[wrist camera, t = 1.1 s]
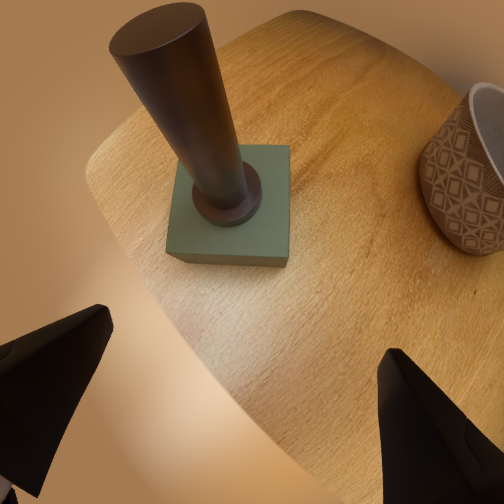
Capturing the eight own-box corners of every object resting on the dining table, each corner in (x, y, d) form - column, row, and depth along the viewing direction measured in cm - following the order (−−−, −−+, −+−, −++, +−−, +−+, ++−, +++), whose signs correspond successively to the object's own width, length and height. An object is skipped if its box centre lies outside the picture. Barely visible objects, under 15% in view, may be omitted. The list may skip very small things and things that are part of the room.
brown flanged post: (243, 238, 17) (168, 86, 5) (185, 211, 18) (59, 76, 5) (273, 180, 18) (263, -5, 5) (215, 157, 19) (148, -6, 6)
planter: (393, 146, 23) (438, 75, 12) (472, 138, 22) (518, 89, 12) (441, 274, 20) (523, 254, 10) (513, 240, 20) (577, 215, 9)
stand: (286, 267, 21) (288, 258, 17) (185, 262, 22) (164, 253, 18) (288, 172, 23) (290, 145, 18) (196, 172, 24) (180, 146, 19)
